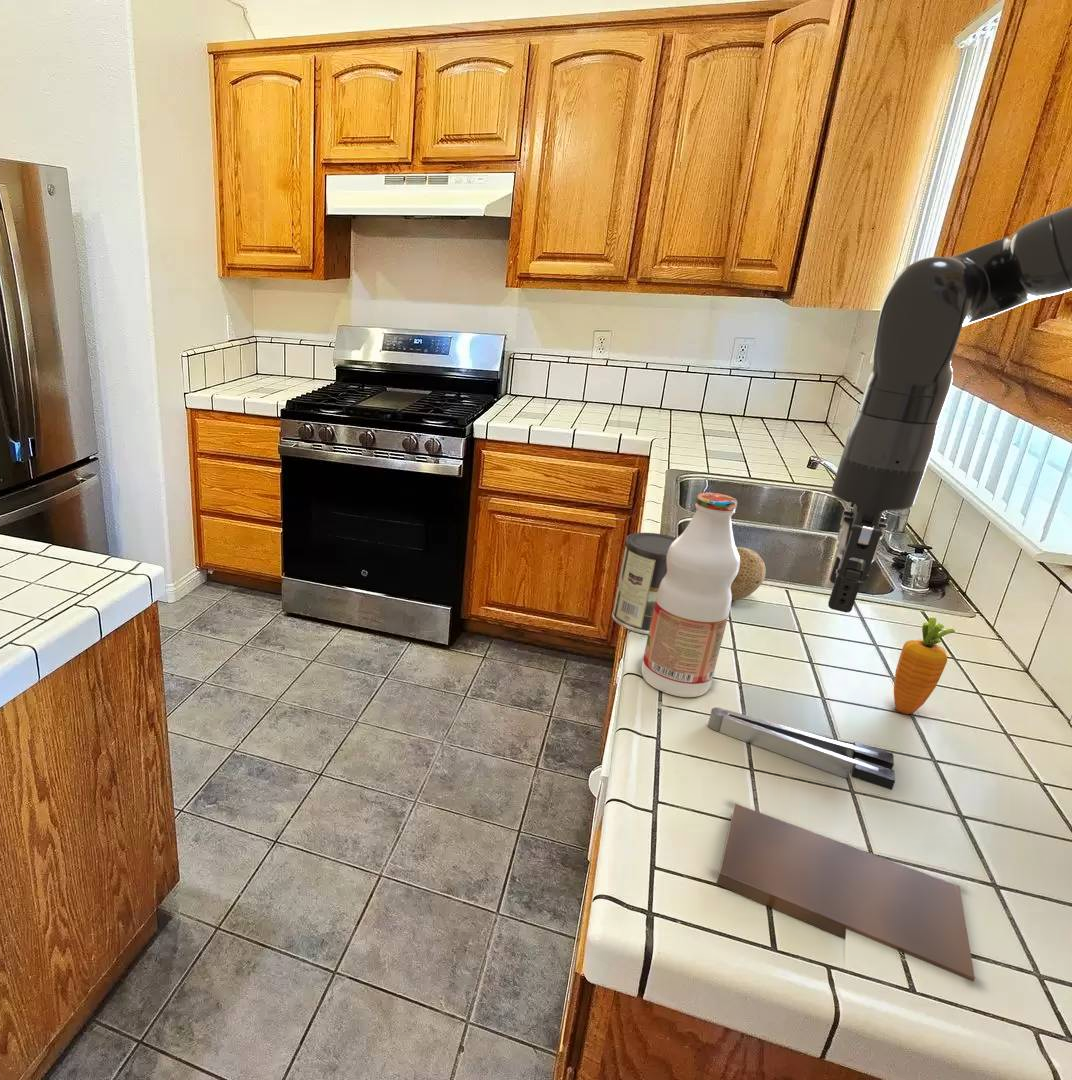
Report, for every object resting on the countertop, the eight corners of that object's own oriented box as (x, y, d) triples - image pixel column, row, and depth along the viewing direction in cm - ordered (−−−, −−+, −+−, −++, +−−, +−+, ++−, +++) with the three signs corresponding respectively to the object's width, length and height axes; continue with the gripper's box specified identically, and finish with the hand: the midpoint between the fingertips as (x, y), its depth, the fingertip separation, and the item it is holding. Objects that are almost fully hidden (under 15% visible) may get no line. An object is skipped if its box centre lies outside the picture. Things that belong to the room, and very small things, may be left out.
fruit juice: (660, 700, 104) (705, 509, 94) (628, 665, 113) (665, 486, 102) (723, 697, 105) (773, 509, 95) (686, 663, 114) (728, 486, 104)
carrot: (888, 703, 106) (922, 607, 101) (928, 720, 103) (966, 622, 97) (873, 714, 103) (907, 616, 98) (914, 732, 100) (953, 632, 94)
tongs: (887, 769, 92) (893, 753, 91) (888, 797, 87) (895, 781, 86) (711, 713, 102) (715, 698, 101) (704, 736, 97) (708, 720, 96)
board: (954, 897, 74) (959, 885, 73) (969, 991, 64) (975, 978, 64) (732, 814, 83) (735, 803, 83) (716, 884, 74) (719, 872, 73)
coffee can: (679, 617, 129) (697, 540, 124) (671, 641, 120) (689, 560, 115) (617, 601, 133) (632, 527, 128) (605, 624, 125) (620, 545, 120)
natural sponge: (728, 612, 131) (741, 560, 128) (691, 591, 139) (703, 541, 135) (768, 607, 134) (782, 555, 130) (729, 586, 142) (742, 537, 138)
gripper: (932, 480, 72) (879, 630, 78) (921, 451, 84) (876, 584, 90) (842, 465, 76) (798, 609, 82) (843, 439, 87) (804, 567, 93)
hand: (839, 596), depth 86 cm, fingers open, 8 cm apart
